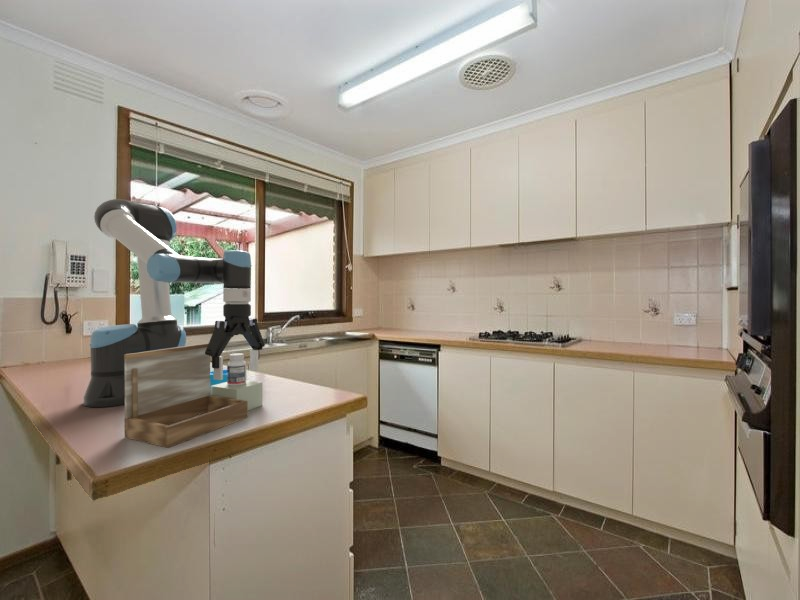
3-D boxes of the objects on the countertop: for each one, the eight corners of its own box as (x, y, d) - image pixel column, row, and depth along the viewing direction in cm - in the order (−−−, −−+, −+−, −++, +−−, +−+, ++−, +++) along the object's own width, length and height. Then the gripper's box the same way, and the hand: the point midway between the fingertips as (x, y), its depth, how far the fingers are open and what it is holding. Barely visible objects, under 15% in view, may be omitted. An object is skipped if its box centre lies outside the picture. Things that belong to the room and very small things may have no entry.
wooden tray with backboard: (124, 437, 91) (124, 354, 90) (207, 410, 112) (207, 343, 112) (168, 447, 85) (167, 359, 84) (247, 417, 106) (247, 346, 106)
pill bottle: (230, 382, 117) (230, 352, 117) (248, 381, 117) (248, 352, 117) (224, 386, 112) (224, 355, 112) (243, 386, 112) (243, 355, 112)
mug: (213, 402, 120) (213, 375, 120) (204, 396, 126) (204, 372, 126) (250, 395, 129) (250, 370, 129) (240, 390, 135) (240, 367, 135)
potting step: (210, 410, 112) (210, 386, 112) (237, 401, 121) (237, 379, 121) (236, 414, 108) (236, 389, 108) (262, 405, 117) (262, 382, 117)
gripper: (210, 304, 101) (210, 385, 102) (276, 302, 124) (276, 368, 124) (190, 304, 104) (190, 382, 105) (258, 302, 127) (258, 366, 127)
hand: (237, 375), depth 115 cm, fingers open, 13 cm apart
